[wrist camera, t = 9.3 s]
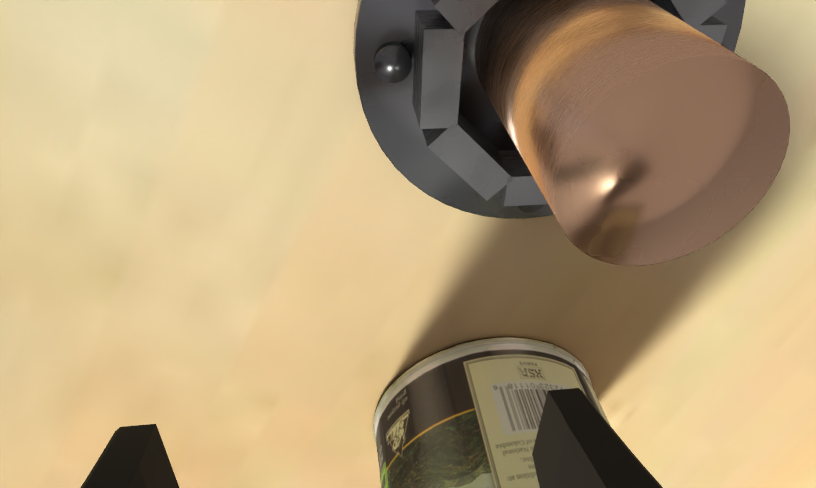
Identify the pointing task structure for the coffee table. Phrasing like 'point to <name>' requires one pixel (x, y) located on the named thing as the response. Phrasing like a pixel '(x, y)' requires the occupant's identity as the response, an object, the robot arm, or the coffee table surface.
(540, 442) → the robot arm
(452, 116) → the flange
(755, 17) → the coffee table surface
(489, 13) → the pipe stub
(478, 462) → the coffee can
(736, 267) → the coffee table surface
